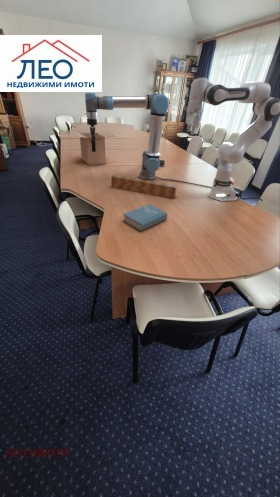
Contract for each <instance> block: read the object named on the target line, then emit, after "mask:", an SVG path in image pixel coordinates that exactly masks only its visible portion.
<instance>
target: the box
mask: <svg viewBox="0 0 280 497" xmlns="http://www.w3.org/2000/svg"><path fill="white" fill-rule="evenodd" d="M70 133H71V134H72V135H74V136H75V137H77V138H79V144H80V153H81V160H83V162H85V163H86V165H87V166H95V165H97V166H98V165H106V163H107V162H106V158H107V157H106V138H113V137H114V136H113V135H111V134H109V133H108V132H105V131H98V132H96V131H95V137H96V138H95V146H96V152H92V143H91V141H92V140H91V133H90V130H77V132H76V131H70Z"/></svg>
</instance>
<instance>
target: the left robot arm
mask: <svg viewBox="0 0 280 497" xmlns="http://www.w3.org/2000/svg"><path fill="white" fill-rule="evenodd" d="M84 100H85V111H86V112H85V115H86V125H88V126H90V127H89V131H90V133H91V140H92V141H91V143H92V152H96V146H95V138H96V137H95V132H96V126H97V125H98V110H103V111H105V110H106V111H113V110H114V109H145V110H148V111H149V110H150V117H151V121H150V122H151V123H150V131H149V140H148V146H147V150H143V151H142V159H141V160H142V161H141V169H140V172H139V179H142V180H148V181H154V180H156V178H157V179H159V180H163V181H172V182H178V183H179V182H180V183H185V184H189V185H195V186H200V187H205V188H210V189H212V186H208V185H204V184H199V183H194V182H188V181H185V180H184V181H183V180H178V179H169V178H161V177H159V176H157V174H156V171H158V170H159V168H160V163H159V160H160V156H161V154H160V153H159V152H160V144H161V138H162V132H163V131H162V130H163V125H164V124H163V123H164V119H165V118H166V117H167V111H168V109H169V108H170V100H169V98H168V97H167V96H166V95H165V94H164V93H159V92H156V93H151V94H145V95H102V96H97V93H95V92H85V94H84Z"/></svg>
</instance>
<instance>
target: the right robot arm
mask: <svg viewBox="0 0 280 497" xmlns="http://www.w3.org/2000/svg"><path fill="white" fill-rule="evenodd" d="M271 87H272V86H271V85H270V84H269V83H268V82H263V81H249V82H243V83H242V84H241V85H240V86H239V87H226V86H225V85H222V84H220V83H219V84H214V83H213V82H211V81H210V80H209V79H208V78H207V76H199V77H195V78H194V79H193V81H192V83H191V87H190V92H189V99H188V104H187V106H186V109H185V111H186V115H185V116H186V117H185V123H186V125H187V126H186V127H187V130H186V132H187V133H190V136H191V135H192V136H194V134H195V131H196V128H199V126H200V119H201V113H202V109H203V104H204V103H206V104H208V105H211V106H219V105H222V104H223V103H225V102H233V101H234V102H235V101H236V102H238V103H239V104H252V108H251V109H252V110H251V111H252V113H253V114H254V115H255V116H257V117H256V120H255V121H254V122H253V123H251V124H250V125H248V126H247V127H246V128H245V129H243V131H242V132H240V134H239V135H238V138H237V139H236V141H235V142H233V143H231V142H222V143H221V144H220V145H219V146H218V148H217V155H218V159H217V169H216V173H215V177H214V179H213V181H212V186H211V187H212V188H210V191H209V193H208V197H209V198H210V199H212V200H215V201H219V202H232V201H233V202H234V201H238V197H239V198H240V200H242V201H243V200H251V199H252V200H253V199H254V200H256V199H257V200H260V201H261V202H263V199H262V198H261V197H254V196H251V197H244V198H243V197H242V196H243V195H242V194H241V193H239V191H236V190H235V188H234V187H233V185H234V184H235V182H234V181H232V180H231V178H232V174H233V171H234V169H233V165H235V164H238V163H240V162H242V159H243V158H244V155H245V153H246V152H247V150H249V149H250V147H251V146H252V145H254V144H255V143H257V141H259V140H260V139H261V138H262V137H263V136H264V135H266V133H267V132H268V131H269V130H270V129H271V128H272V124H273V121H274V120H276V118H277V117H279V115H280V98H278V97H272V96H271V92H272V88H271Z"/></svg>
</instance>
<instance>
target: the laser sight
mask: <svg viewBox="0 0 280 497" xmlns="http://www.w3.org/2000/svg"><path fill="white" fill-rule="evenodd" d="M165 162H166V160H164V159H159V163H160V166H161V167H164V166H165ZM160 166H159V167H160Z"/></svg>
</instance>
